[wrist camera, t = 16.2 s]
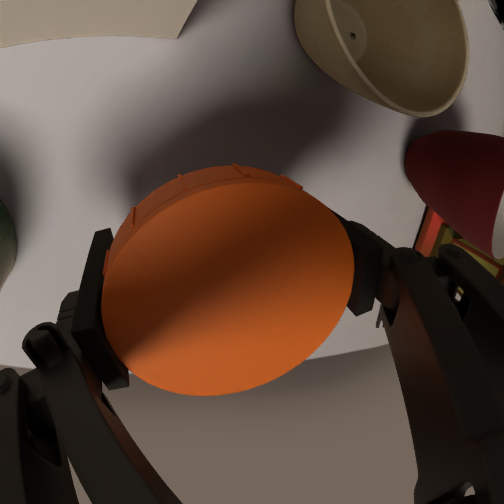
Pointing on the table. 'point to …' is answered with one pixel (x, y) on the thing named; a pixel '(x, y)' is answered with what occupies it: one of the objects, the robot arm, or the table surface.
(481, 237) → the mug
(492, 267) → the light fixture
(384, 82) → the flower pot
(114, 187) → the table surface
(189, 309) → the lid
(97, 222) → the table surface
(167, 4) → the hammer relief block
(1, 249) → the jar
